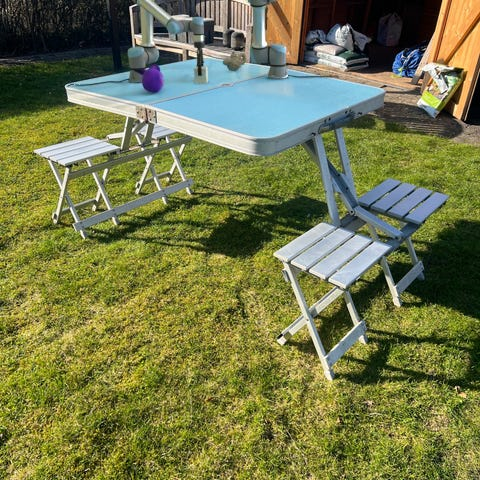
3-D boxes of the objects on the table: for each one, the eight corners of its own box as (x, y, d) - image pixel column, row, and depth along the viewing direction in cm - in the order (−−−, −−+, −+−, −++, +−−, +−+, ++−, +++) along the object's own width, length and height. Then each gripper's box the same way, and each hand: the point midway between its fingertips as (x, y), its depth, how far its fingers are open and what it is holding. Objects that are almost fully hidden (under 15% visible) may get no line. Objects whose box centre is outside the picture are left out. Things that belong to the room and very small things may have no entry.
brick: (206, 83, 326) (205, 68, 321) (194, 83, 327) (193, 68, 321) (208, 81, 334) (207, 66, 328) (196, 81, 334) (195, 66, 329)
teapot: (226, 73, 360) (225, 53, 353) (219, 71, 369) (219, 51, 361) (249, 70, 370) (249, 50, 362) (242, 68, 378) (241, 49, 371)
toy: (156, 85, 322) (164, 98, 301) (131, 81, 314) (137, 93, 294) (160, 63, 314) (168, 74, 293) (135, 58, 306) (141, 69, 286)
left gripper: (202, 43, 306) (204, 77, 317) (206, 39, 326) (207, 71, 337) (191, 43, 306) (193, 77, 317) (196, 39, 326) (198, 71, 337)
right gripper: (270, -1, 338) (270, 30, 349) (270, -2, 359) (269, 27, 370) (260, -1, 338) (260, 30, 349) (260, -2, 360) (260, 27, 370)
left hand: (201, 74), depth 327 cm, fingers open, 11 cm apart
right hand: (265, 29), depth 360 cm, fingers open, 13 cm apart
